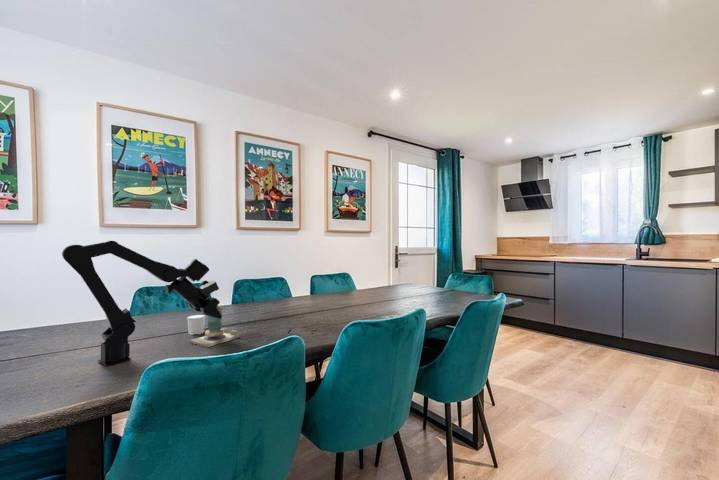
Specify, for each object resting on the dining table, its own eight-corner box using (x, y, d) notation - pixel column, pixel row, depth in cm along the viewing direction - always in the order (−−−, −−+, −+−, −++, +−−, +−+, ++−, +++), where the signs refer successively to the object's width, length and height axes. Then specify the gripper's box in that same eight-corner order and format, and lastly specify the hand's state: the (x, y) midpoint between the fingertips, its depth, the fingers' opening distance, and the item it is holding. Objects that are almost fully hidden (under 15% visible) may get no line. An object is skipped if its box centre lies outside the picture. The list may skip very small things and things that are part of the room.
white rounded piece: (200, 335, 128) (200, 318, 128) (183, 335, 129) (183, 318, 129) (208, 330, 135) (208, 314, 135) (192, 330, 135) (192, 314, 135)
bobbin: (217, 337, 119) (217, 303, 119) (201, 335, 120) (201, 302, 120) (227, 332, 125) (228, 300, 125) (212, 331, 127) (213, 299, 127)
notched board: (206, 347, 114) (206, 340, 114) (189, 342, 119) (189, 336, 119) (238, 337, 126) (238, 331, 126) (222, 333, 131) (222, 327, 131)
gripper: (214, 276, 113) (243, 303, 121) (196, 272, 127) (223, 297, 134) (190, 301, 108) (222, 327, 115) (174, 294, 121) (203, 318, 129)
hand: (218, 316), depth 124 cm, fingers closed on bobbin, 5 cm apart
